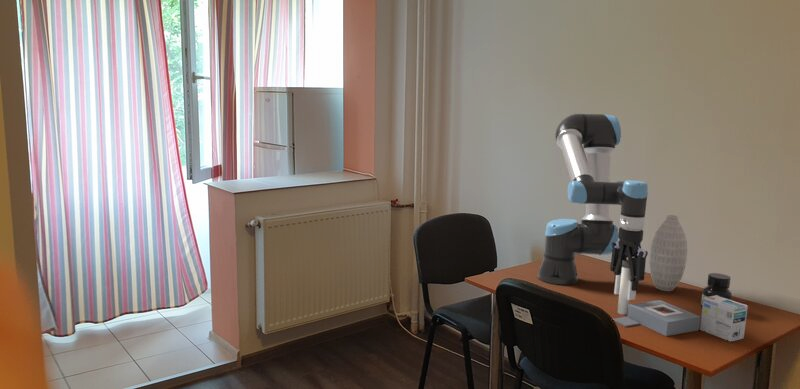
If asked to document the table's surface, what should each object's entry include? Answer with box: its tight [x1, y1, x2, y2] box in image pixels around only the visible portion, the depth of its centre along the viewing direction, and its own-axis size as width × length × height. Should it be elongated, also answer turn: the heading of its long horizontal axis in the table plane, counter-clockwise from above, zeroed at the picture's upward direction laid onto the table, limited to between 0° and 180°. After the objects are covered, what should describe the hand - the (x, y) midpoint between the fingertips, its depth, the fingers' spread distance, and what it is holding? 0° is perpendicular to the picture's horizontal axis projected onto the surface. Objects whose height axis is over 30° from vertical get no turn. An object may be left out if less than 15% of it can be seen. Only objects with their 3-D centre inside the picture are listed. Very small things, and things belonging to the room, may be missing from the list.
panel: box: [626, 299, 701, 337], centre depth 198 cm, size 16×14×5 cm
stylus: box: [617, 258, 631, 316], centre depth 205 cm, size 4×4×18 cm
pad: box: [612, 316, 641, 328], centre depth 198 cm, size 6×6×1 cm
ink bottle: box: [700, 272, 733, 309], centre depth 213 cm, size 10×9×12 cm
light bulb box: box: [699, 295, 749, 342], centre depth 190 cm, size 11×7×11 cm, turn 29°
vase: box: [648, 214, 688, 292], centre depth 232 cm, size 13×13×28 cm
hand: (624, 296), depth 206 cm, fingers open, 5 cm apart
